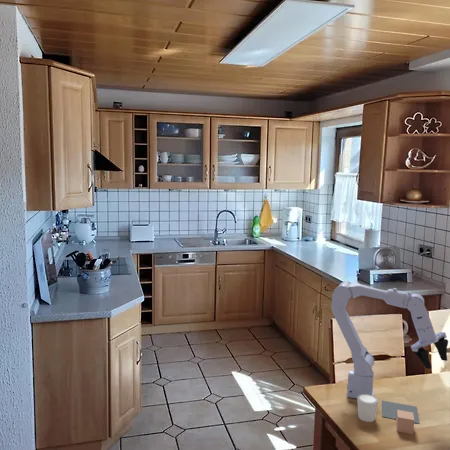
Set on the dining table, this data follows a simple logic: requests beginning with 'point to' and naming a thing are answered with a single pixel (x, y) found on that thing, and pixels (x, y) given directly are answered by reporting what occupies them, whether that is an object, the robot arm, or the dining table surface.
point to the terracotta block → (405, 422)
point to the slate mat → (391, 409)
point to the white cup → (367, 407)
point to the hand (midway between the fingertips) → (436, 364)
